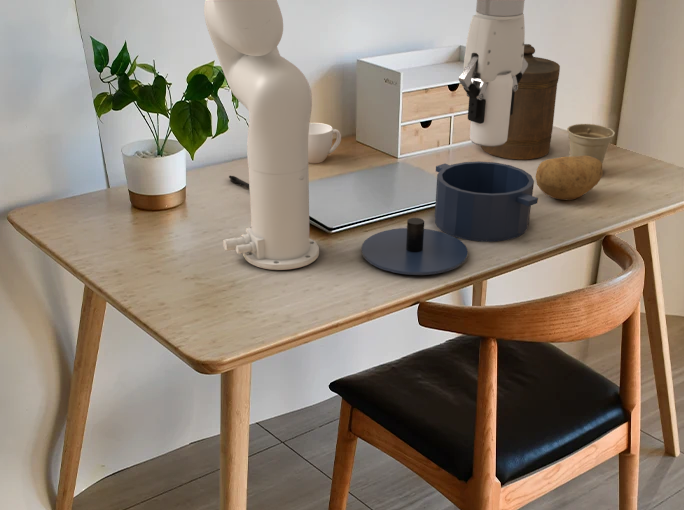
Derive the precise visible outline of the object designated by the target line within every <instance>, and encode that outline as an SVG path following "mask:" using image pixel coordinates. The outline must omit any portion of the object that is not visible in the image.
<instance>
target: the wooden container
mask: <svg viewBox="0 0 684 510" xmlns="http://www.w3.org/2000/svg"><path fill="white" fill-rule="evenodd" d="M535 53H536V49H535V47H534V46H532V44H529V43H524V55H523V57H524V59H525V60H526V61H527V63H528V67H527V68H526V70H525V72H524V73H523V75H522V78H521V80H520V81H519V83H518V89H517V90H516V91H514V92H515V95H514V105H513V114H512V115H510V117H509V127H508V136H507V141H506V142H505V143H504V144H503V145H500V146H495V147H487V146H481V149H482V150H483V151H484V152H486V153H487V154H488V155H492V156H494V157H498V158H502V159H508V160H520V161H521V160H534V159H539V158H542V157H545V156H547V155H548V154H549V153H550V150H551V141H552V134H553V129H554V128H553V127H554V120H555V119H554V118H555V107H556V99H557V91H558V83H559V79H560V72H561V71H560V70H561V65H560V64H559V63H558V62H556V61H554V60H552V59H548V58H543V57H537V56H534V54H535Z"/></svg>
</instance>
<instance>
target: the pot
mask: <svg viewBox="0 0 684 510" xmlns="http://www.w3.org/2000/svg"><path fill="white" fill-rule="evenodd" d="M435 172H436V173H437V175H436V186H435V203H434V205H435V206H434V223H435V225H436V227H437V228H438V229H439V230H441V232H443V233H446V234H449V235H451V236H453V237H455V238H457V239H462V240H467V241H474V242H492V243H493V242H502V241H508V240H509V241H510V240H512V239H515V238H519V237H520V236H522V235H524V234H525V233H526V231H527V230H528V227H529V225H530V217H531V210H532V206H534V205H536V204H538V202H539V197H537V196H533V193H534V184H535V180H534V178H533V176H532V174H531V173H529V172H527V171H526V170H524V169H522V168H519V167H516V166H513V165H512V164H511V165H510V164H505V163H501V162H500V163H499V162H494V161H491V162H490V161H479V160H477V161H463V162H458V163H452V164H449V163H448V164H447V163H442V164H439V165H436V166H435Z"/></svg>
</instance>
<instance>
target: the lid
mask: <svg viewBox="0 0 684 510" xmlns="http://www.w3.org/2000/svg"><path fill="white" fill-rule="evenodd" d="M361 255H362V257H363V258H364V260H365V261H367V262H368V263H369V264H371V265H372V266H373V267H376V268H378V269H381V270H383V271H386V272H390V273H394V274H395V273H396V274H399V275H400V274H401V275H409V276H427V275H437V274H442V273H447V272H450V271H451V270H452V271H453V270H455V269H457V268H459V267H460V266H461V265H463V264H464V263H465V262H466V260H467V259H468V248H467V246H466V244H465V243H464V242H463V241H462V240H460V238H458V237H454V236H452V235H449V234H447V233H445V232H443V231H439V230H435V229H429V228H425V220H424V219H423V218H420V217H411V218H408V219H407V221H406V227H401V228H392V229H387V230H383V231H380V232H377V233H374V234H372V235H370V236H369V237H367V238H366V239H365V240H364V241H363V243H362V245H361Z"/></svg>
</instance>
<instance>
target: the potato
mask: <svg viewBox="0 0 684 510" xmlns="http://www.w3.org/2000/svg"><path fill="white" fill-rule="evenodd" d="M603 175H604V169H603V164H602V163H601V161H600V160H598V159H596V158H594V157H591V156H570V155H569V156H561V157H555V158H548V159H545V160H544V161H542V162H540V164H539V165H538V166H537V169H536V172H535V181H536V185H537V187H538V188H539V189H540V191H541V192H543V194H545V195H547V196H549V197H551V198H553V199H556V200H562V201H571V200H576V199H579V198H581V197H582V196H583V195H585V194H587V193H589V192H590V191H591V190H592V189H593V188H594V187H596V186H597V185H598V184H599V182H600V181H601V179H602V177H603Z"/></svg>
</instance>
